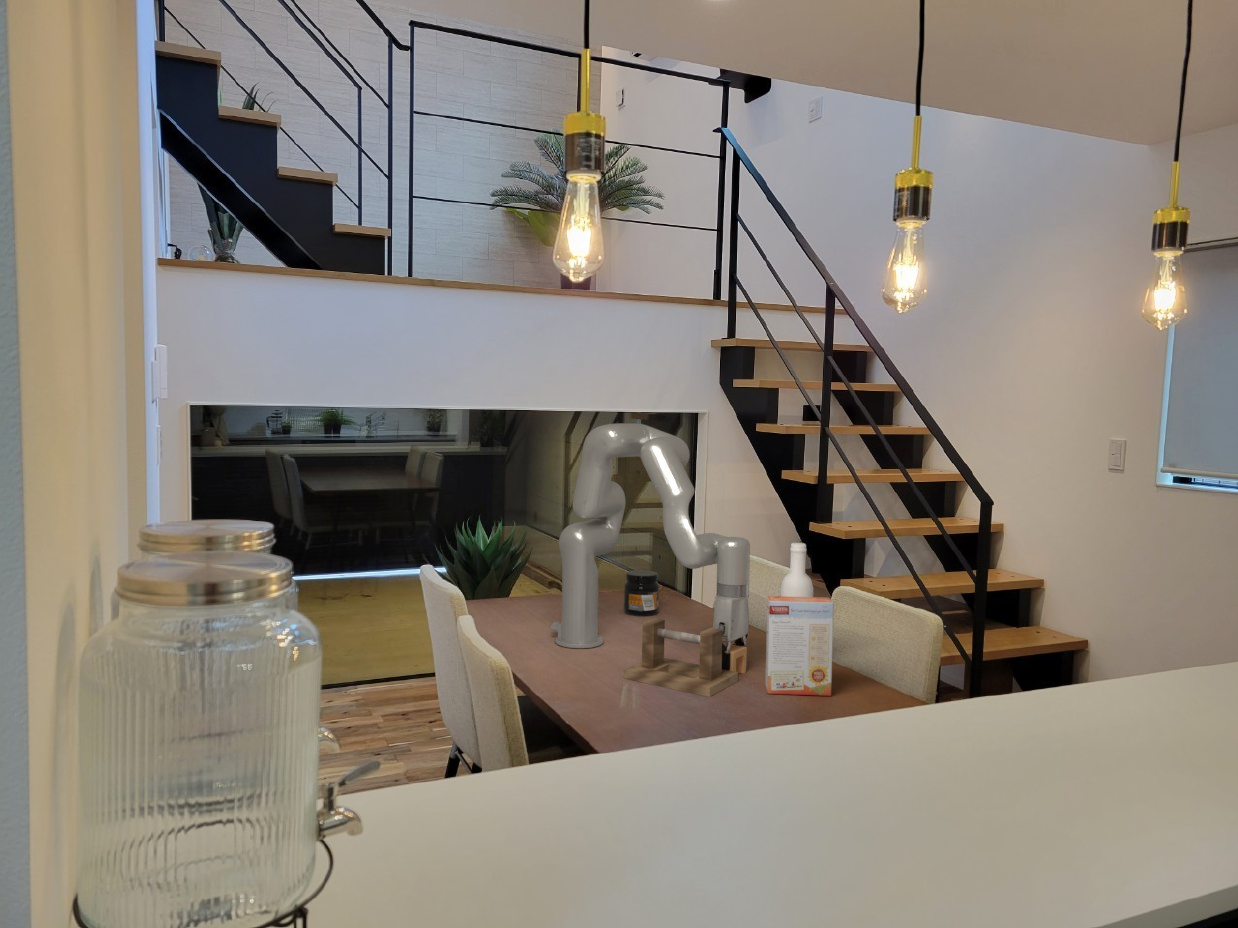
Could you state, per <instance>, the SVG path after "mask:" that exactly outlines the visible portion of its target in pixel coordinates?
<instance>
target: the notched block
mask: <svg viewBox="0 0 1238 928" xmlns="http://www.w3.org/2000/svg"><path fill="white" fill-rule="evenodd" d="M724 645H725V647H726V644H724ZM747 649H748V648H747V646H746V647H743V646H738V645H733V644H732V643H731V645H730V649H729V653H730V670H729V671H734V672H738V674H743V675H744V674H746V673H747V654H748V653H747V652H748V651H747Z"/></svg>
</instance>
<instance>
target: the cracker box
mask: <svg viewBox="0 0 1238 928" xmlns="http://www.w3.org/2000/svg"><path fill="white" fill-rule="evenodd" d="M766 598H767V600H766V604H767V605H766V636H765V638H766V639H765V641H766V643H765V647H766V648H765V650H766V651H765V690H766V692H767V694H768V695H794V696H795V695H797V696H799V695H800V696H802V695H803V696H804V695H805V696H819V697H820V696H824V697H827V696H828V697H830V696H832V681H833V642H834V641H833V640H834V639H833V638H834V607H835V603H834V602H833V600H832V599H831V598H830V597H821V596H819V597H818V596H817V597H816V596H813V597H787V596H781V595H778V596H777V595H774V596H773V595H768V596H767V597H766Z"/></svg>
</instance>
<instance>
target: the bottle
mask: <svg viewBox="0 0 1238 928" xmlns="http://www.w3.org/2000/svg"><path fill="white" fill-rule="evenodd" d="M789 550H790V563H789V565H790V567H789V572H788V573H787V574H785V576H784V577H782V582H781V584H780V596H787V597H814V585H813V581H812V578H811V577H810V575H808V574H807V573H806V560H807V559H806V558H807V557H806V556H807V550H808V549H807V544H806V543H804V542H792V543H791V544H790V548H789Z"/></svg>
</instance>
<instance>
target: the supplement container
mask: <svg viewBox="0 0 1238 928" xmlns="http://www.w3.org/2000/svg"><path fill="white" fill-rule="evenodd" d="M658 574H659V573H658V572H656V571H651V570H643V569H642V570H640V569H639V570H630V571H627V572H626V573H625V580H626V581H625V583H624V584H623V587H624V593H623V594H624V595H623V596H624V598H623V604H624V605H623V610H624V612H625V614H628V615H630V616H638V617H649V616H653V615H656V614H657V613H658V612H659V609H660V608H659V601H660V599H659V596H660V595H659V593H660V584H659V583H658V581H659V575H658Z"/></svg>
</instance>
